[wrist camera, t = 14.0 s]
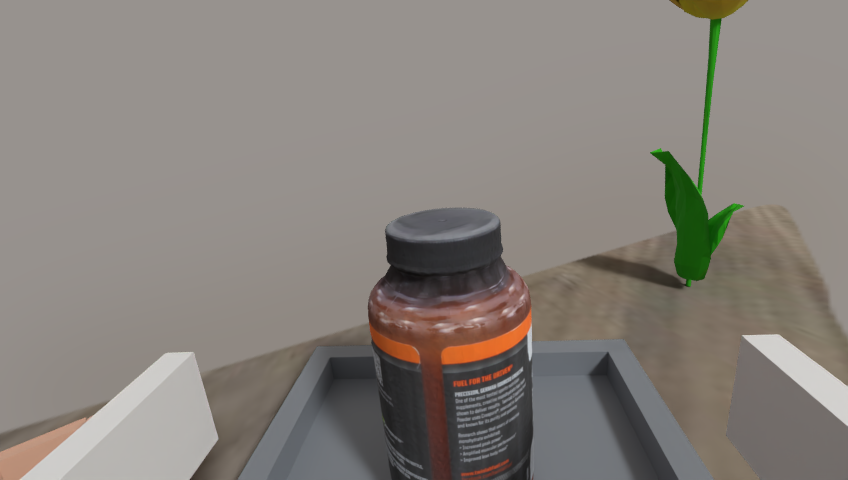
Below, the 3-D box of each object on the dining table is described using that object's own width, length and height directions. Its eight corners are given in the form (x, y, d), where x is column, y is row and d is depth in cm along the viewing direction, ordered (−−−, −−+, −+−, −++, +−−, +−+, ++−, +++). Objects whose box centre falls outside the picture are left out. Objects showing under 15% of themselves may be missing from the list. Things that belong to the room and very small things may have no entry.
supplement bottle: (559, 464, 19) (563, 207, 15) (483, 581, 14) (465, 263, 11) (448, 410, 22) (431, 195, 19) (362, 490, 18) (320, 232, 15)
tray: (145, 734, 12) (118, 677, 11) (323, 381, 27) (317, 346, 27) (850, 795, 10) (876, 732, 9) (621, 376, 25) (623, 339, 24)
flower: (712, 264, 39) (765, -142, 30) (778, 305, 31) (875, -224, 22) (614, 270, 40) (636, -126, 30) (654, 311, 32) (700, -201, 23)
